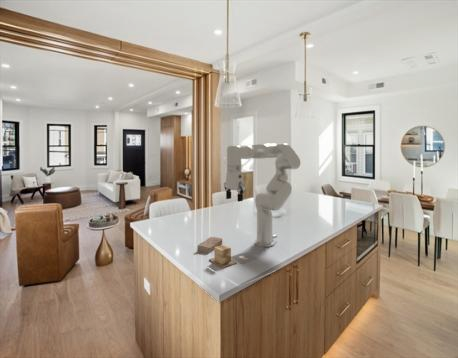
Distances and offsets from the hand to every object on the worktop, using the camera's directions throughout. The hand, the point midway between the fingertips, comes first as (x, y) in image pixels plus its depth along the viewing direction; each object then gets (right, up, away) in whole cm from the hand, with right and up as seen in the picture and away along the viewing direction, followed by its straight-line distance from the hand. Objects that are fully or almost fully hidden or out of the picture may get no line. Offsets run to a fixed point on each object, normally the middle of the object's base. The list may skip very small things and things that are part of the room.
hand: (234, 199), depth 141 cm
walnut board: (-6, -32, -10) cm, 34 cm away
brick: (-14, -30, +11) cm, 35 cm away
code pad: (+5, -31, -5) cm, 32 cm away
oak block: (-6, -30, -10) cm, 32 cm away
